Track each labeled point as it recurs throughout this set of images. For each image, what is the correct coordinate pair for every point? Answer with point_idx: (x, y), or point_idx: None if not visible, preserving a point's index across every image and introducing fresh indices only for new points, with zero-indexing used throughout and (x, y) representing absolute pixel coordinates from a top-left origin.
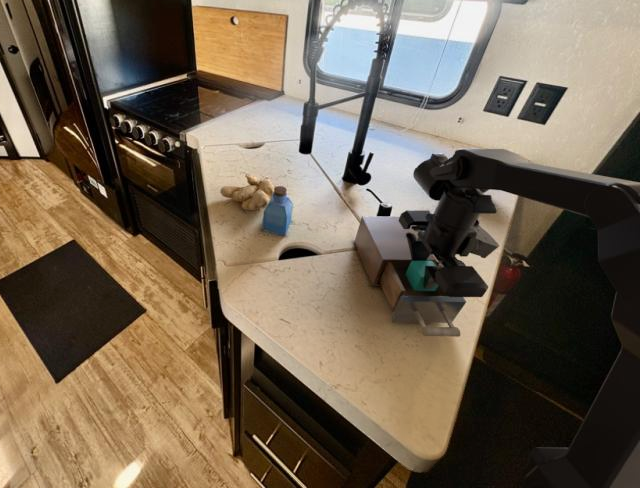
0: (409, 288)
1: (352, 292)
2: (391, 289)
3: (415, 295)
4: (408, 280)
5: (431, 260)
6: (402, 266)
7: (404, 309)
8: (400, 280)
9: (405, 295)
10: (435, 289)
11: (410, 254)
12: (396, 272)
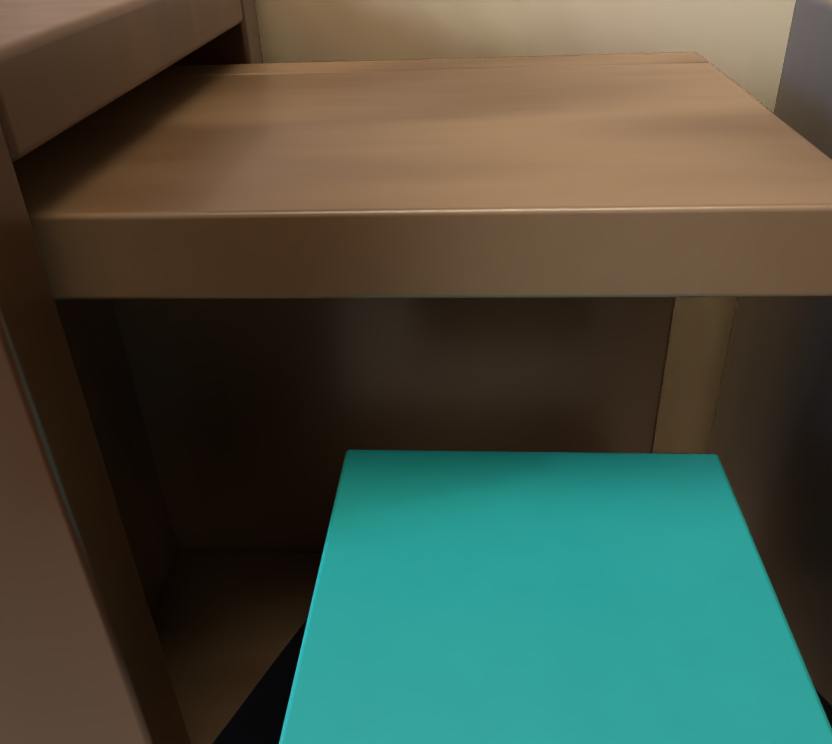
0: (390, 361)
1: None
2: None
3: (491, 337)
4: (264, 325)
5: (47, 409)
6: (93, 415)
7: None
8: (278, 410)
9: (490, 437)
10: (727, 486)
11: (10, 715)
12: (159, 407)
